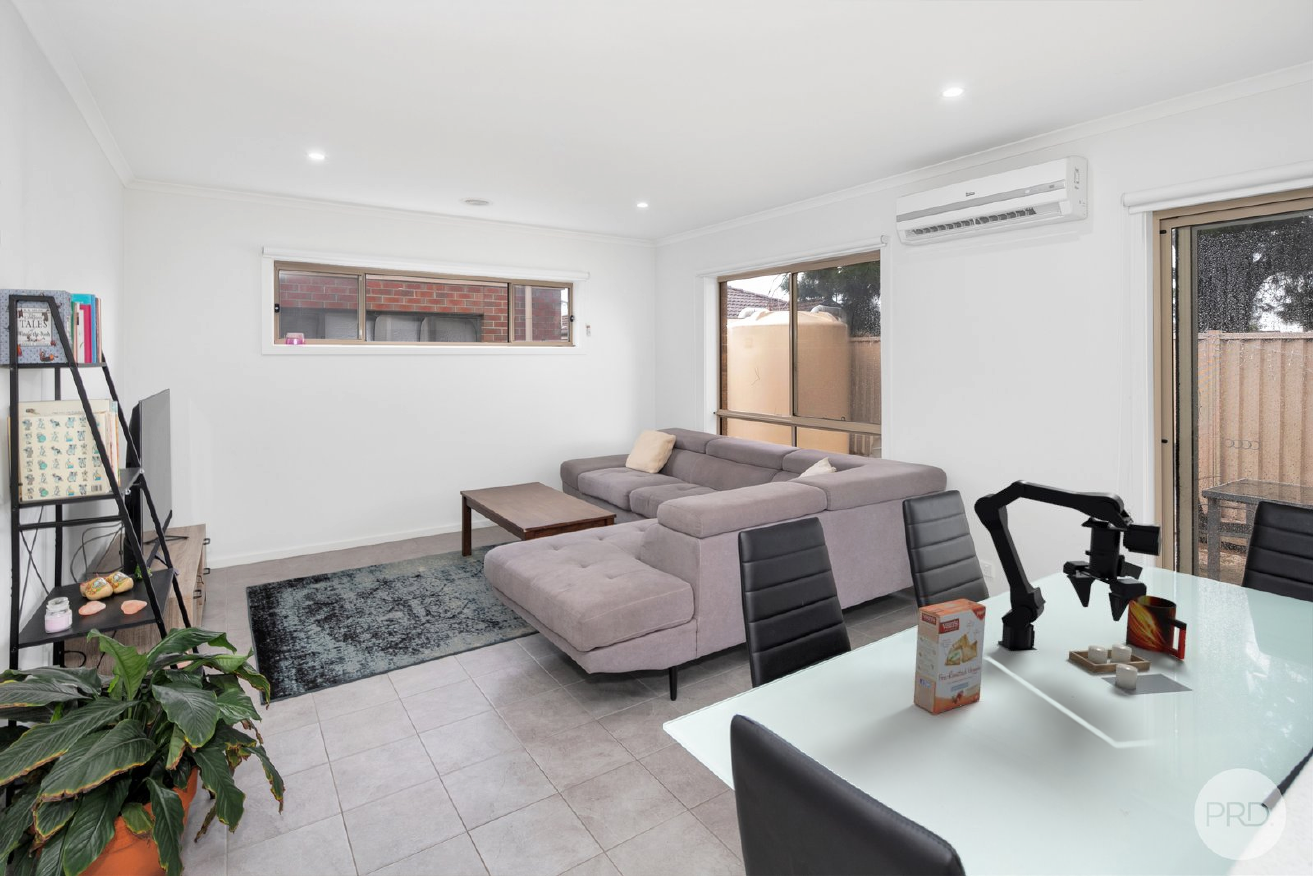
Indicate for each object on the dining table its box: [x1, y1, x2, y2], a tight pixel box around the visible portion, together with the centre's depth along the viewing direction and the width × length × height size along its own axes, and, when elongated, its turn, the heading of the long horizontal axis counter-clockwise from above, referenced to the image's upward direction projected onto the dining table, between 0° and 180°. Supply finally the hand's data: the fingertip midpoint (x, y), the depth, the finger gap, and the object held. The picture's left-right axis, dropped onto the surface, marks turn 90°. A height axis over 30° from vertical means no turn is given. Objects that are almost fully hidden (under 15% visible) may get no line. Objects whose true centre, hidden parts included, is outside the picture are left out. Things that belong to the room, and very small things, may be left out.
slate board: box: [1101, 673, 1193, 696], centre depth 150 cm, size 15×8×1 cm, turn 98°
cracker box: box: [913, 597, 987, 715], centre depth 142 cm, size 14×6×21 cm, turn 117°
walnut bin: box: [1068, 648, 1151, 674], centre depth 160 cm, size 14×8×2 cm, turn 98°
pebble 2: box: [1109, 643, 1133, 663], centre depth 160 cm, size 4×4×4 cm
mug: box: [1125, 594, 1188, 660], centre depth 169 cm, size 10×14×12 cm
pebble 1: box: [1086, 645, 1108, 664], centre depth 159 cm, size 4×4×4 cm
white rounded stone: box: [1115, 664, 1139, 689], centre depth 149 cm, size 4×4×4 cm
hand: (1100, 613), depth 158 cm, fingers open, 9 cm apart
